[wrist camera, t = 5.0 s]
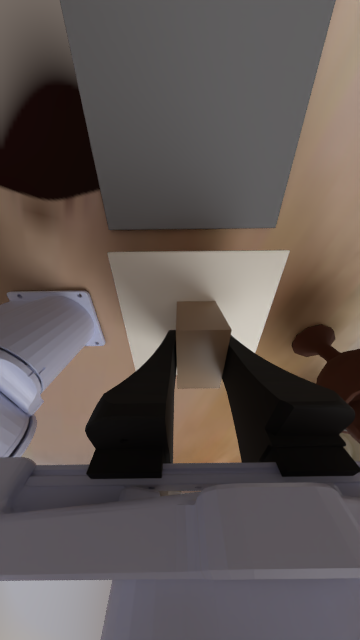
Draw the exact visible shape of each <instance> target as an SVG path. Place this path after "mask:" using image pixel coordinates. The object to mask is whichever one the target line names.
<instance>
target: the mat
mask: <svg viewBox="0 0 360 640" xmlns="http://www.w3.org/2000/svg"><path fill="white" fill-rule="evenodd" d="M335 1H336V0H60V3H61V8H62V12H63V17H64V22H65V26H66V31H67V36H68V41H69V45H70V50H71V55H72V59H73V64H74V69H75V73H76V78H77V83H78V88H79V92H80V97H81V101H82V106H83V110H84V115H85V120H86V125H87V129H88V134H89V139H90V144H91V148H92V153H93V158H94V162H95V167H96V172H97V176H98V181H99V186H100V190H101V195H102V200H103V204H104V209H105V214H106V218H107V223H108V228H109V230H145V229H228V228H275V227H276V224H277V220H278V216H279V212H280V208H281V205H282V201H283V197H284V193H285V190H286V186H287V182H288V178H289V174H290V171H291V167H292V163H293V159H294V156H295V152H296V148H297V144H298V140H299V137H300V133H301V129H302V125H303V122H304V118H305V114H306V110H307V106H308V103H309V99H310V95H311V91H312V88H313V84H314V80H315V76H316V73H317V69H318V65H319V61H320V57H321V54H322V50H323V46H324V42H325V39H326V35H327V31H328V27H329V23H330V20H331V16H332V12H333V8H334V5H335Z"/></svg>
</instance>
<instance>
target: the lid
mask: <svg viewBox="0 0 360 640" xmlns="http://www.w3.org/2000/svg"><path fill="white" fill-rule="evenodd" d="M289 252H290V250H230V251H144V252H108V253H107V254H108V258H109V262H110V266H111V271H112V275H113V279H114V283H115V287H116V291H117V295H118V299H119V304H120V308H121V312H122V316H123V320H124V324H125V328H126V333H127V337H128V341H129V345H130V349H131V353H132V357H133V361H134V366H135V370H136V371H137V370H138V369H139V368H140V367H141V366H142V365H143V364H144V363H145V362H146V361H147V360H148V359H149V358H150V357H151V356H152V355H153V353H154V352H155V351H156V350H157V348H158V347H159V346H160V344H161V343H162V341H163V340H164V338H165V336H166V334H167V332H168V331H169V330H176V353H177V370H176V375H177V387H178V389H187V388H220V384H221V379H222V375H223V370H224V365H225V360H226V355H227V350H228V346H229V341H230V336H231V335H232V336H233V337H234V338H235V339H236V340H238V341H239V342H240V343H241V344H243V345H244V346H245V347H247V348H248V349H250V350H251V351H252V352H254V353H255V352H256V349H257V346H258V343H259V340H260V337H261V334H262V331H263V328H264V325H265V322H266V320H267V317H268V314H269V311H270V308H271V305H272V302H273V299H274V296H275V293H276V290H277V287H278V284H279V281H280V278H281V275H282V272H283V270H284V267H285V264H286V261H287V258H288V255H289Z"/></svg>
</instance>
